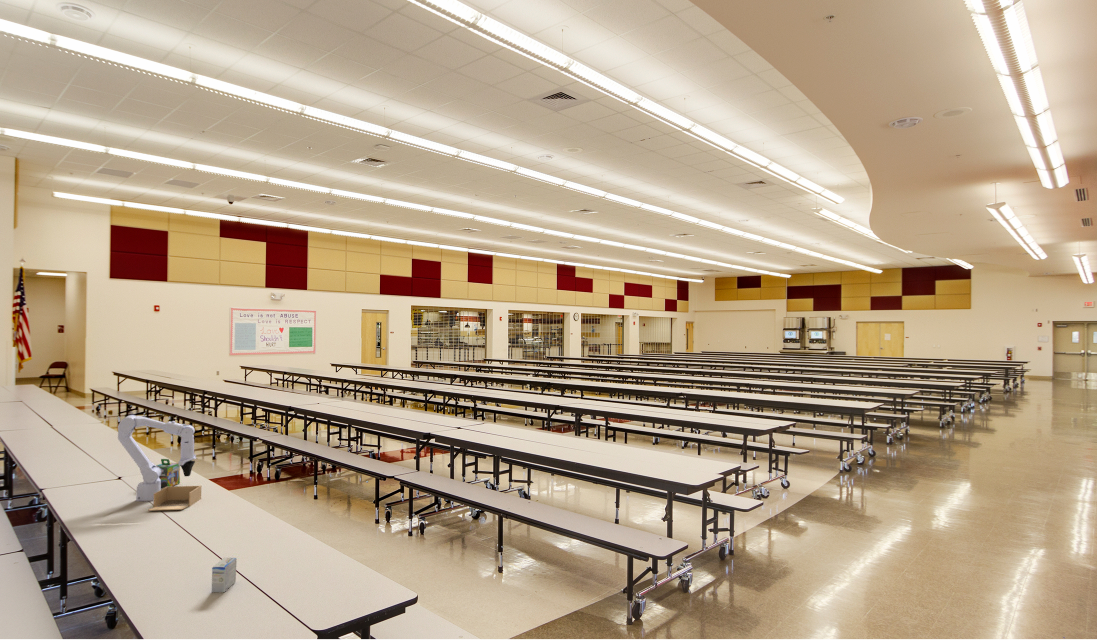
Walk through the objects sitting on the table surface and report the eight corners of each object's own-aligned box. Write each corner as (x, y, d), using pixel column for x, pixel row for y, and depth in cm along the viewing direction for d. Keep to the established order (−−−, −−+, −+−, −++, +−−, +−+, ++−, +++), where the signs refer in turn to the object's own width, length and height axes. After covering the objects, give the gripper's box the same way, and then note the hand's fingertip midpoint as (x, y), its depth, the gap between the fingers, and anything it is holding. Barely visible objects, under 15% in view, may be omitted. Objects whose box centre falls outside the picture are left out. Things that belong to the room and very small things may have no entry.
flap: (155, 507, 266) (148, 510, 260) (155, 506, 266) (148, 509, 260) (188, 506, 269) (181, 509, 262) (188, 505, 269) (181, 508, 262)
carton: (153, 509, 266) (153, 493, 266) (166, 501, 278) (166, 486, 278) (190, 507, 269) (190, 492, 269) (201, 500, 281) (201, 485, 281)
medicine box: (222, 582, 194) (223, 557, 194) (236, 582, 194) (236, 557, 194) (211, 593, 186) (211, 567, 186) (225, 592, 186) (225, 566, 186)
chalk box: (180, 483, 308) (180, 456, 308) (167, 488, 298) (167, 460, 298) (164, 483, 308) (165, 456, 309) (151, 487, 299) (151, 460, 299)
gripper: (189, 452, 280) (189, 479, 280) (202, 446, 294) (202, 471, 294) (173, 453, 278) (173, 480, 278) (187, 446, 293) (187, 472, 293)
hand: (187, 475), depth 286 cm, fingers closed
